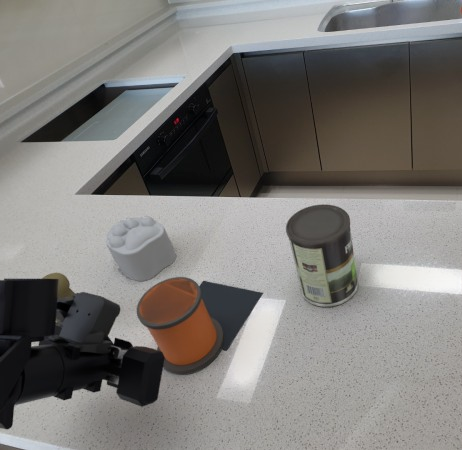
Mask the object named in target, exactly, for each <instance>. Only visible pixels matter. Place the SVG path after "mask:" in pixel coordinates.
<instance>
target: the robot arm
mask: <svg viewBox="0 0 462 450" xmlns="http://www.w3.org/2000/svg"><path fill="white" fill-rule="evenodd" d="M58 285H59V279H42V278H3V279H0V429H3V430H10V429H12V427H13V425H14V416H15V415H14V413H15V407H16V406H18V405H22V404H27V403H30V402H31V403H32V402H34V401H38V400H43V399H46V398H51V397H54V398H56V399H59V400H61V401H67V400H71V399H72V398H73V392H75V391H80V390H85V391H88V392H91V393H94V394H95V393H98V392H101V390H102V383H103V381H106V386H108V387H109V386H110V387H113V388H115V389H116V392H115V393H116V395H117V396H118V398H119V399H120V400H122V401H125V402H128V403H130V404H133V405H136V406H138V407H142V408H144V407H146V406H150V405H151V404H154V403H155V402H157V401H158V398H159V393H160V388H161V382H162V376H163V370H164V368H163V365H164V359H165V357H164V355H163V353H162V351H158V350H157V349H155V348H151V347H148V346H142V345H141V346H139V345H135V346H133V343H132V342H130V341H129V340H125V339H122V338H118V337H114V341H112V339H111V338H110V337H109V335H110V334H111V330H112V329H113V326H114V324H115V322H116V320H117V318H118V317H119V315H120V313H121V306H120V304H118V303H116V302H114V301H112V300H111V299H108V298H106V297H103V296H101V295H98V294H94V293H90V292H85V291H81V292H76V293H75V292H74V293H73V294H72V296H73V297H71V298H70V297H63V298H58ZM56 318H57V319H58V320H61V321H59V322H56ZM37 342H38V345H32V343H37Z"/></svg>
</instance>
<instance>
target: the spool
mask: <svg viewBox="0 0 462 450" xmlns="http://www.w3.org/2000/svg"><path fill="white" fill-rule="evenodd" d="M199 286H200V284H199V283H197V281H196V280H194V279H192V278H190V277H187V276H186V277H185V276H176V277H170V278H167V279H164V280H161V281H159V282H157V283H156V284H154V285H153V286H151V287H150V288H148V290H146V292H144V293H143V294H142V295H141V297H140V298H139V301H138V303H137V305H136V316H137V319H138V320H139V322H140V324H141V325H143V326H144V327H145V328H146V329H147V330H148V331H149V333H150V335H151V337H152V338H153V340H154V342H155V343H156V345H157V347H156V350H158V351H162V353H163V355H164V357H165V359H164V365H163V370H165V371H167V372H169V373H171V374H174V375H189V374H193V373H197V372H199V371H201V370H203V369H204V368H206V367H208V366H209V365H210V364H211V363H213V361H215V359H216V358H217V357H218V356H219V355H220V353H221V351H222V347H223V344H224V332H223V330H222V327H221V325H220V324H219V323H218V321H216V320H215V319H213V318H211V317H210V316H209V313H208V311H207V309H206V307H205V305H204V302H203V300H202V292H201V289H200V287H199Z"/></svg>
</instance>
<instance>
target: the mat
mask: <svg viewBox="0 0 462 450" xmlns="http://www.w3.org/2000/svg"><path fill="white" fill-rule="evenodd" d="M199 287H200V289H201V292H202V300H203V302H204V305H205V307H206V309H207V311H208V313H209V316H210V317H211V318H213V319H215V320H216V321H218V323H219V324H220V325H221V327H222V330H223V332H224V344H223V347H222V349H221V351H228V350H229V348H230V346H231V345H232V343H233V342H234V340H235V338H236V337H237V335H238V333H239V332H240V330H241V329H242V327H243V325H244V324H245V322H246V321H247V320H248V317H249V316H250V314H251V313H252V311H253V310H254V308H255V307H256V305H257V303H258V301H259V300H260V299H261V297H262V295H263V294H264V293H263V292H261V291H255V290H252V289H246V288H242V287H236V286H231V285H228V284H227V285H226V284H222V283H216V282H212V281H206V280H203V281H202V282H201V283H200V284H199Z"/></svg>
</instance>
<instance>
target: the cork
mask: <svg viewBox="0 0 462 450" xmlns="http://www.w3.org/2000/svg"><path fill="white" fill-rule="evenodd" d="M41 279H59V285H58V298H63V297H70V298H71V297H73V296H72V294H73V293H75V292H74V291H73V289H72V288H71V287H70V285H71V283H70V280H69V279H68V277H67V276H66V275H65V274H63V273H61V272H52V273H48V274H46V275H44V276H43V277H41ZM59 321H61V320H58V319H57V318H56V322H59Z"/></svg>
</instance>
